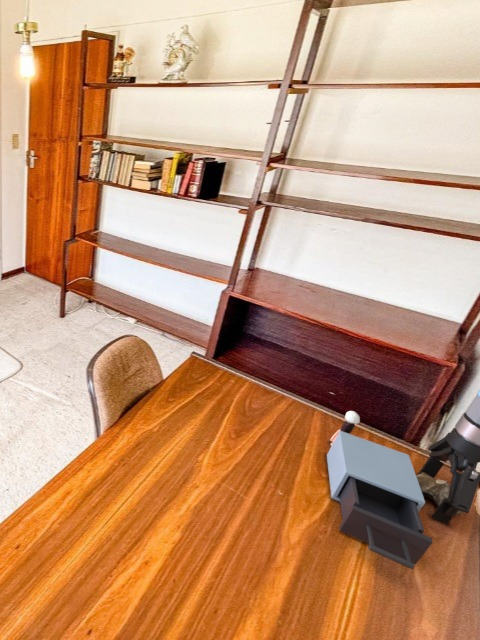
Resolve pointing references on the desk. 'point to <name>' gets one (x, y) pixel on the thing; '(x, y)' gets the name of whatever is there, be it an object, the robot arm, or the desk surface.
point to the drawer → (383, 522)
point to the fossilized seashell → (434, 489)
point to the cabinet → (372, 467)
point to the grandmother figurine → (347, 424)
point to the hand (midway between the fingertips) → (431, 498)
